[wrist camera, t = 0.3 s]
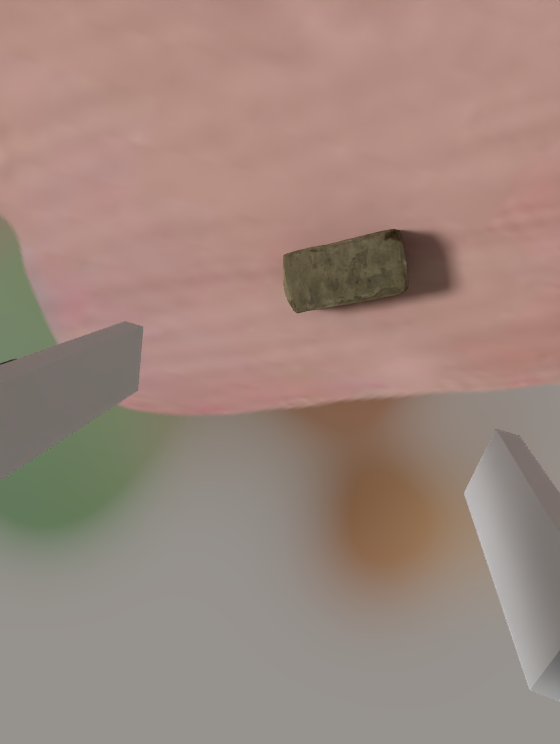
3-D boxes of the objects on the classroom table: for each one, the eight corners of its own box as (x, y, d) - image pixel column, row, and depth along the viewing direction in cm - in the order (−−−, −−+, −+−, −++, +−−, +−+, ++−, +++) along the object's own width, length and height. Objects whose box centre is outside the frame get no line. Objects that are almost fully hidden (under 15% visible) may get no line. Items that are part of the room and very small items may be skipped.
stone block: (408, 286, 38) (412, 293, 34) (296, 309, 42) (286, 318, 37) (399, 225, 37) (402, 224, 32) (284, 254, 40) (272, 256, 36)
